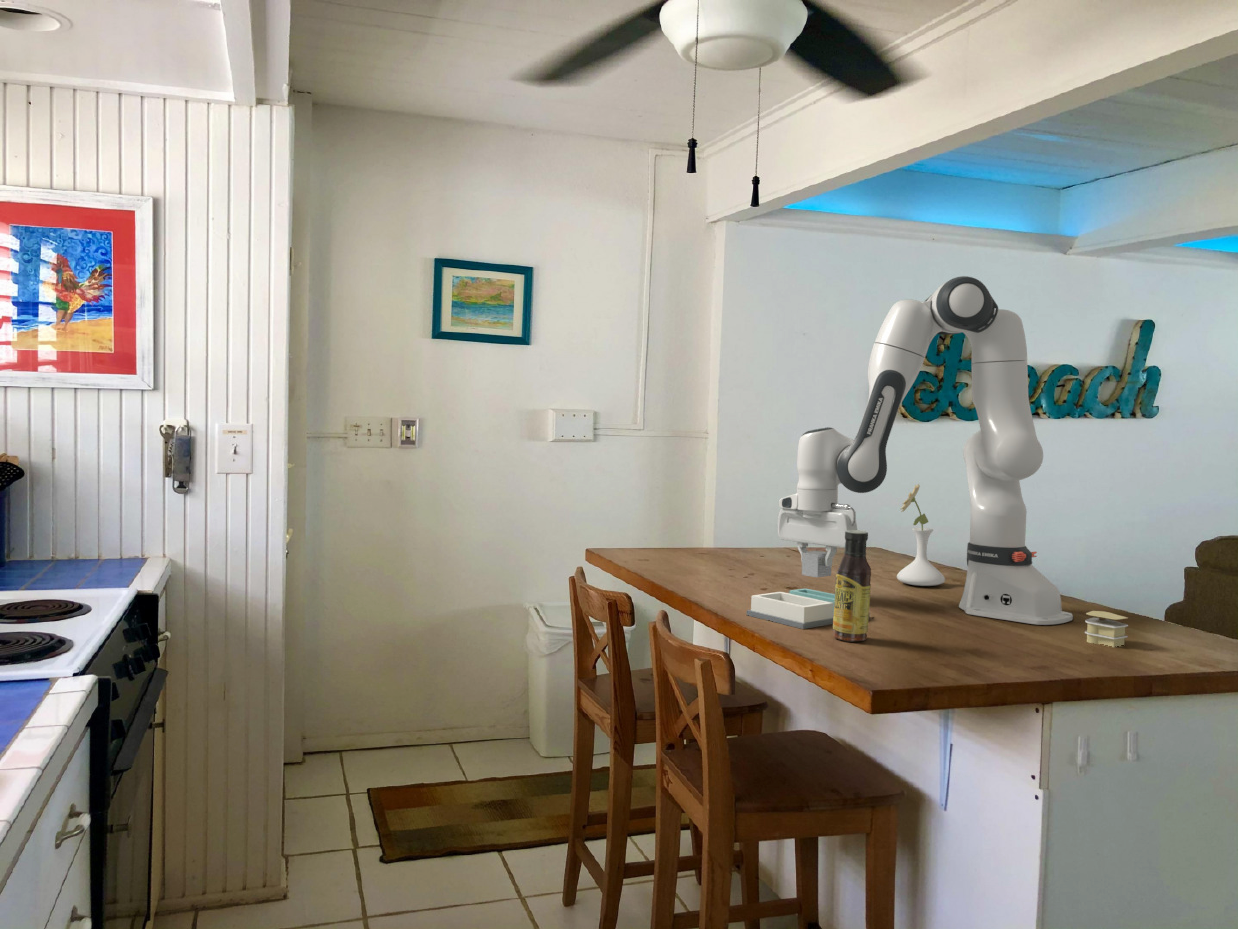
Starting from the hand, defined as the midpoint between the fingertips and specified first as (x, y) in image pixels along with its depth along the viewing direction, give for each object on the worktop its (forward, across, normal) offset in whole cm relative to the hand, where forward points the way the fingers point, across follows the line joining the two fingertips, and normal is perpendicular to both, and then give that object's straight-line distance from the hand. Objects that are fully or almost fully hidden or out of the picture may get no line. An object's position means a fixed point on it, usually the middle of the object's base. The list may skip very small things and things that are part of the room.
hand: (816, 564), depth 213 cm
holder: (+8, -10, +15) cm, 20 cm away
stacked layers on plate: (+10, -56, -15) cm, 59 cm away
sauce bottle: (+8, -28, +24) cm, 38 cm away
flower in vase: (+9, +1, -38) cm, 39 cm away
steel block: (+2, 0, 0) cm, 2 cm away
